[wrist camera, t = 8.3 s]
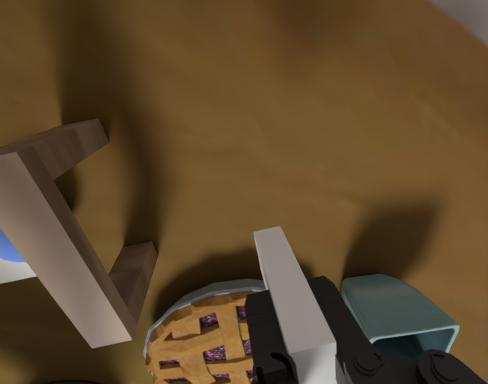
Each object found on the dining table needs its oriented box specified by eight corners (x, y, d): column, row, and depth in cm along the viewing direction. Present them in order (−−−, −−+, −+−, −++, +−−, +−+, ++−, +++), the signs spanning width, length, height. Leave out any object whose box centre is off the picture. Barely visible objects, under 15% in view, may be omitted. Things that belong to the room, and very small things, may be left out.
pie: (320, 353, 38) (335, 391, 34) (184, 389, 38) (180, 431, 34) (302, 246, 28) (318, 279, 24) (119, 295, 29) (101, 336, 24)
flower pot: (328, 267, 30) (370, 339, 22) (398, 258, 30) (463, 325, 22) (323, 315, 34) (357, 392, 26) (384, 306, 34) (436, 378, 26)
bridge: (130, 261, 26) (91, 348, 18) (61, 125, 20) (-49, 164, 11) (158, 255, 26) (132, 339, 18) (98, 118, 20) (16, 151, 12)
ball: (85, 227, 25) (21, 248, 23) (58, 177, 22) (-15, 196, 21) (74, 259, 20) (-8, 288, 18) (38, 200, 18) (-59, 227, 16)
